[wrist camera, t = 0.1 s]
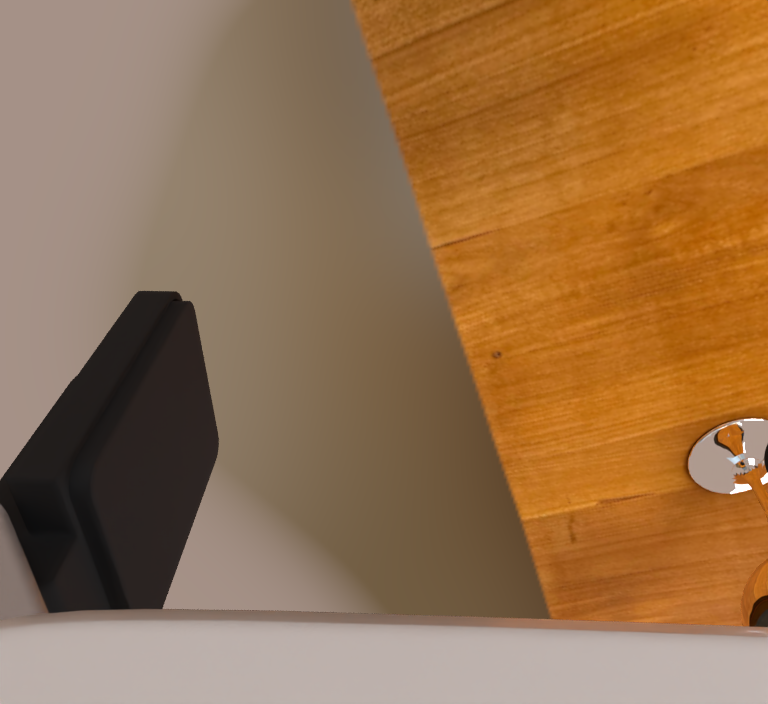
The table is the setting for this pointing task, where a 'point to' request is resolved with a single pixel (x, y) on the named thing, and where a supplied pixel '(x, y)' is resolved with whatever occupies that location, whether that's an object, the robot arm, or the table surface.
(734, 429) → the wineglass
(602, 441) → the table surface
